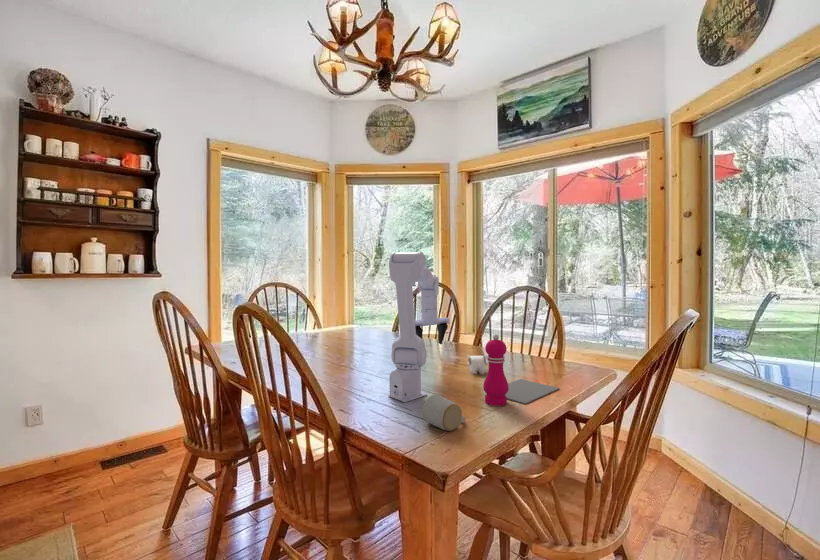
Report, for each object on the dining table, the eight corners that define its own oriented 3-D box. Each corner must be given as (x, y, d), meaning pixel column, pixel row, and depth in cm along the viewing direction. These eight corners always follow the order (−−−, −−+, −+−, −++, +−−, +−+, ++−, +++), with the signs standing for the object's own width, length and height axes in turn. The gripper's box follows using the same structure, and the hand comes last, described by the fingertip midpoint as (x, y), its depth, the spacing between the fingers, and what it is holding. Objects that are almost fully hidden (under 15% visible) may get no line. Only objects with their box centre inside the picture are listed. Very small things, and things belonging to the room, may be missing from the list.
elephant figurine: (484, 368, 157) (484, 350, 156) (490, 375, 147) (490, 355, 147) (464, 368, 156) (464, 350, 156) (469, 375, 147) (469, 356, 147)
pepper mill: (513, 401, 119) (513, 334, 118) (500, 408, 114) (500, 337, 113) (491, 396, 124) (491, 331, 123) (478, 402, 119) (478, 334, 118)
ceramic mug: (444, 436, 97) (444, 405, 96) (421, 426, 103) (421, 397, 102) (472, 425, 103) (472, 396, 103) (449, 416, 109) (450, 389, 109)
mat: (525, 404, 117) (525, 403, 117) (485, 393, 127) (485, 391, 127) (559, 389, 131) (559, 387, 131) (520, 380, 141) (520, 378, 141)
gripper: (444, 304, 153) (444, 339, 155) (407, 307, 149) (408, 344, 151) (451, 307, 147) (452, 344, 148) (412, 311, 142) (414, 349, 144)
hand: (430, 344), depth 149 cm, fingers open, 7 cm apart
